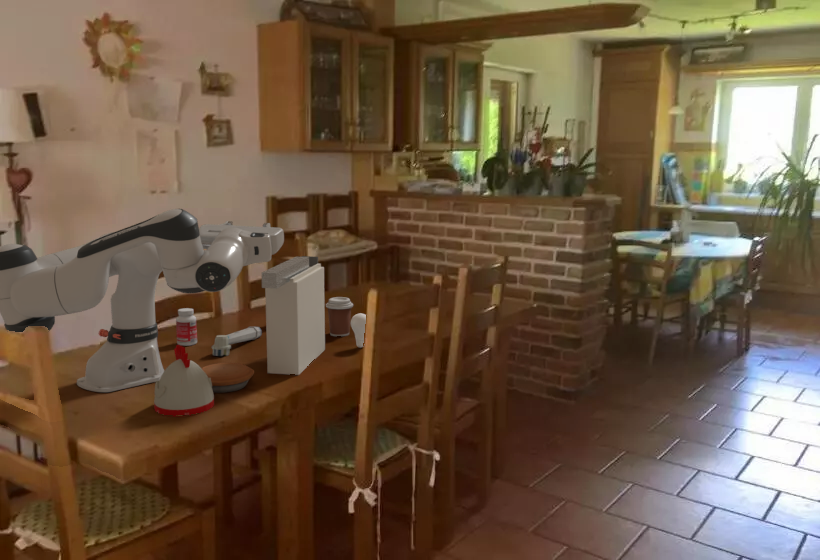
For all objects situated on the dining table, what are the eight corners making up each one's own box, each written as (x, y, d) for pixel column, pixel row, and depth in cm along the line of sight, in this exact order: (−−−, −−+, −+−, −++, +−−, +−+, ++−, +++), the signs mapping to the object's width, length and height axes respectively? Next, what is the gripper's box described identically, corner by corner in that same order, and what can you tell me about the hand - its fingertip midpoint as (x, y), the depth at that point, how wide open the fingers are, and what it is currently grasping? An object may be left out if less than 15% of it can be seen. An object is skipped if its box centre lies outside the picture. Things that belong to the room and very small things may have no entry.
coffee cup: (325, 337, 243) (324, 302, 241) (327, 330, 252) (326, 296, 250) (352, 337, 244) (352, 302, 241) (353, 330, 253) (353, 296, 250)
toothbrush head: (264, 326, 242) (224, 334, 218) (263, 346, 243) (223, 356, 219) (249, 325, 244) (208, 332, 220) (249, 345, 244) (207, 355, 220)
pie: (221, 400, 184) (220, 380, 183) (181, 388, 193) (180, 369, 192) (266, 384, 196) (266, 366, 196) (227, 373, 205) (226, 356, 204)
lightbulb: (365, 351, 228) (365, 316, 226) (347, 349, 230) (347, 314, 228) (373, 346, 234) (373, 312, 232) (355, 344, 235) (355, 310, 233)
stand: (298, 375, 204) (296, 271, 199) (267, 373, 205) (264, 270, 200) (325, 349, 230) (324, 256, 224) (297, 347, 231) (296, 255, 226)
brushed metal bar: (276, 288, 191) (276, 273, 190) (261, 287, 191) (261, 272, 191) (309, 270, 218) (308, 257, 217) (296, 269, 219) (295, 256, 218)
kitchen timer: (201, 393, 189) (199, 336, 186) (223, 408, 178) (221, 348, 175) (146, 404, 181) (143, 344, 178) (166, 420, 170) (162, 358, 167)
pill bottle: (192, 346, 231) (191, 312, 229) (174, 345, 232) (172, 311, 230) (200, 341, 237) (198, 307, 235) (181, 340, 238) (180, 307, 236)
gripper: (190, 257, 173) (208, 234, 185) (276, 262, 171) (289, 238, 184) (187, 232, 170) (206, 210, 182) (275, 237, 169) (288, 214, 181)
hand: (248, 224), depth 183 cm, fingers open, 8 cm apart
